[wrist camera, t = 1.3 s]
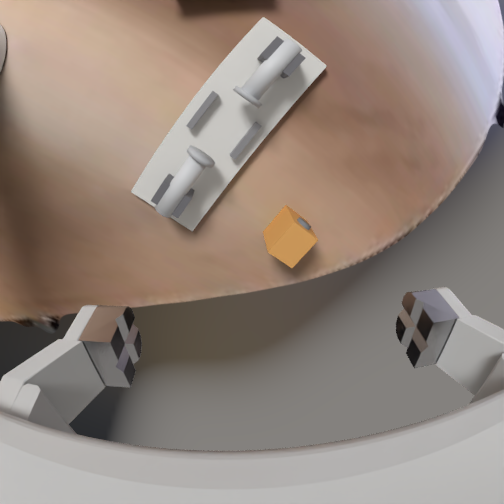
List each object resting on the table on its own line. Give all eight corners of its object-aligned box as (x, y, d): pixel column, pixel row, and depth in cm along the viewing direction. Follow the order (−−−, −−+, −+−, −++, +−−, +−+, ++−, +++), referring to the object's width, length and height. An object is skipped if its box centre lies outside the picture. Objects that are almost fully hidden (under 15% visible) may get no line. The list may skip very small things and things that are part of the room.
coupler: (282, 248, 44) (289, 270, 39) (261, 233, 43) (266, 254, 38) (308, 219, 43) (320, 237, 37) (287, 202, 41) (296, 219, 36)
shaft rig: (193, 228, 42) (188, 248, 37) (133, 189, 38) (119, 204, 33) (324, 66, 32) (340, 62, 27) (262, 18, 29) (268, 6, 24)
